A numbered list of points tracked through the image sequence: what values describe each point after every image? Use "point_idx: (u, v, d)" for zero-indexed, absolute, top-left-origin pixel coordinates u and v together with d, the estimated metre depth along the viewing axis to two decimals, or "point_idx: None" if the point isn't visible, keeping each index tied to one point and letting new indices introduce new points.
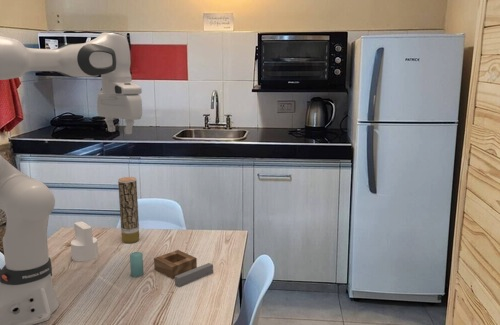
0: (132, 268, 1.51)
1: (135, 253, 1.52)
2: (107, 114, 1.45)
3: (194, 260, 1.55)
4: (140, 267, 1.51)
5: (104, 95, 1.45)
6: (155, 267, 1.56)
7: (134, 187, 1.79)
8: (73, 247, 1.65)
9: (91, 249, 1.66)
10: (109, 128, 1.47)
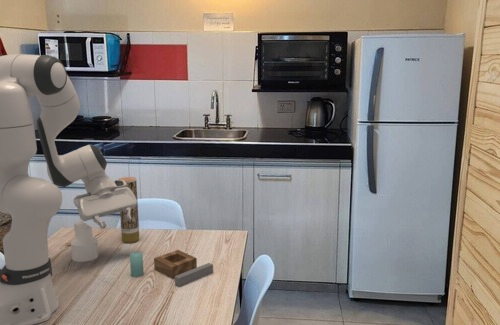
0: (132, 268, 1.51)
1: (135, 253, 1.52)
2: (101, 209, 1.57)
3: (194, 260, 1.55)
4: (140, 267, 1.51)
5: (92, 196, 1.58)
6: (155, 267, 1.56)
7: (134, 187, 1.79)
8: (73, 247, 1.65)
9: (91, 249, 1.66)
10: (103, 223, 1.55)
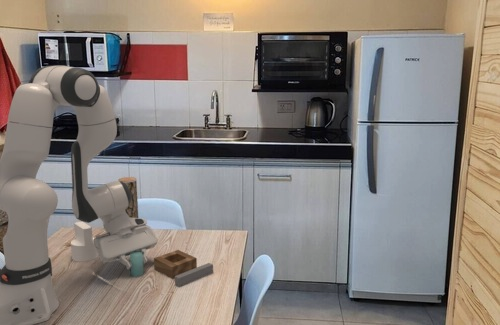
0: (132, 268, 1.51)
1: (135, 253, 1.52)
2: (122, 251, 1.50)
3: (194, 260, 1.55)
4: (140, 267, 1.51)
5: (112, 236, 1.51)
6: (155, 267, 1.56)
7: (134, 187, 1.79)
8: (73, 247, 1.65)
9: (91, 249, 1.66)
10: (130, 263, 1.50)
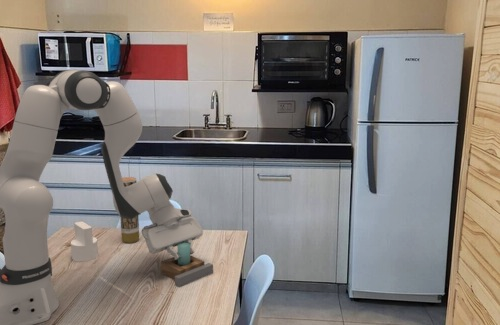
0: (180, 259, 1.50)
1: (183, 244, 1.52)
2: (170, 241, 1.50)
3: (202, 264, 1.52)
4: (187, 257, 1.50)
5: (159, 227, 1.51)
6: (162, 271, 1.53)
7: None
8: (73, 247, 1.65)
9: (91, 249, 1.66)
10: (178, 254, 1.49)
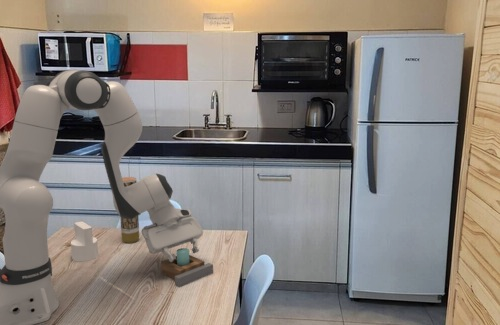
0: (179, 264, 1.51)
1: (182, 249, 1.52)
2: (170, 241, 1.50)
3: (202, 264, 1.52)
4: (186, 263, 1.51)
5: (159, 227, 1.51)
6: (162, 271, 1.53)
7: None
8: (73, 247, 1.65)
9: (91, 249, 1.66)
10: (173, 256, 1.48)
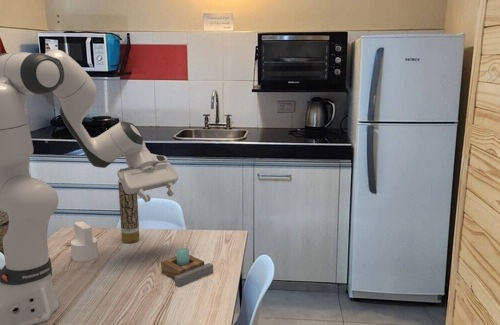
0: (179, 264, 1.51)
1: (182, 249, 1.52)
2: (145, 183, 1.55)
3: (202, 264, 1.52)
4: (186, 263, 1.51)
5: (135, 169, 1.56)
6: (162, 271, 1.53)
7: None
8: (73, 247, 1.65)
9: (91, 249, 1.66)
10: (148, 196, 1.53)
